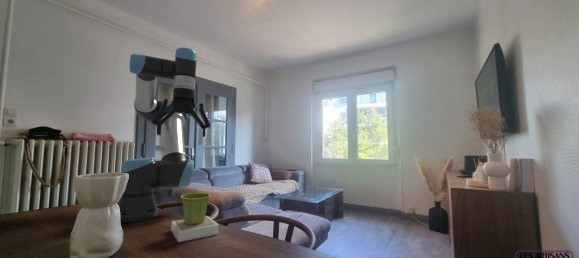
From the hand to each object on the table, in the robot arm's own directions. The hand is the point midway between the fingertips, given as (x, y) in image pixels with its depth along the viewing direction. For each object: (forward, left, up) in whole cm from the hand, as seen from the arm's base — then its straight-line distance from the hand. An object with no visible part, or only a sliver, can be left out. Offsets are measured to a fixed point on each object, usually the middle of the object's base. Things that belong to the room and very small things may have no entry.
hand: (181, 145), depth 89 cm
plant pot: (+12, +3, -26) cm, 28 cm away
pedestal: (+12, +3, -29) cm, 31 cm away
